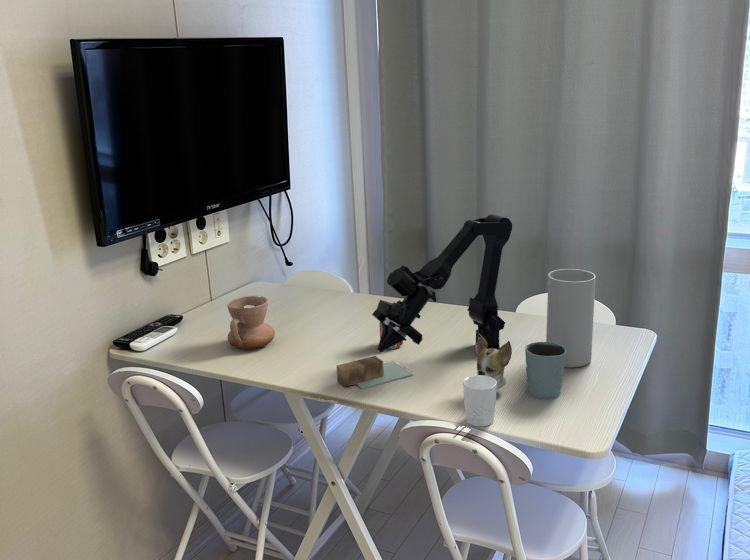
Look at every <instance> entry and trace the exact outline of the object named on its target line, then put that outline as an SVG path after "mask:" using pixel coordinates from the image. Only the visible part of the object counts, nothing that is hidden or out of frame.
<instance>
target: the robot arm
mask: <svg viewBox="0 0 750 560" xmlns="http://www.w3.org/2000/svg"><path fill="white" fill-rule="evenodd" d="M512 231H513V222H512V221H511V220H510V219H509V218H508V217H504V216H501V215H498V214H494V213H492V214H491V213H490V214H488V215H487V216H486V217H477V218H475V219H468V220H466V221H465V222H464V223H463V226H462V228H461V229H460V230H459V231H458V233H456V235H455V236H454V237H453V238H452V240H451V241H450V242H449V243H448V245H447V246H446V247H445V248H444V249H443V250H442V252H440V254H439V255H437V256H436V257H435V258H433V259H431V260H429V261H428V262H426V264H425V265H424V266H423V267H421V268H420V270H416V271H413V272H412V271H411V270H410V268H409V267H408V266H406V265H404V264H402V265H401V266H400V267H399V268H396V269H395V270H393V271H392V272H390V274H388V277H387V279H386V283H387V285H388V286H389V287H391V288H392V289H393V290H394V291H395V292H396V293H397V294H399V295H400V296H401V297H404V298H403V300H402V301H401V300H398V301H396V302H395V301H394V302H389V301H386V300H383V299H379V301H378V303H377V308H376V309H375V310H374V312H373V313H372V314H371V316H373V317H374V318H375V319H376V320H378V321H380V322H381V324H382V328H383V332H382V336H381V339H380V338H379V342H378V345H377V348H376V350H377V351H378V352H379V353H382V352H384V351H386V350H388V348H389V347H391V346H393V345H395V344H397V343H399V342H401V341H403V342H404V341H405V342H406V341H407V339H406V337H408V338H410V339H411V340H412V342H413V343H414V344H416V345H418V346H419V345H420V344H421V342H422V341H423V334H422V333H421V332H419V331H418V330H417V329H416V328H415V327H414V326H413V325H412V324H413V323H414V321H415V320H416V319H418V320H419V319H420V318H421V314H420V313H421V311H422V310H423V309H424V307H425V306H426V305H427V303H428V302H429V301H432V302H434V303H436V302H437V297H436V294H437V293H436V292H435V291H434V290H441V289H443V288H444V287H445V285H446V284H447V282H448V281H449V280H450V277H451V275H452V270H453V268H454V266H455V264H456V263H457V262H458V261H459V260H460V258H461V257H462V256H463V255H464V253H465V252H466V251H467V250H468V249H469V248H470V246H471V245H472V244H473V243H474V241H475V240H477V238H478V237H479V236H482V237H483V242H484V244H485V246H484V252H483V254H484V255H483V258H482V259H483V260H482V266H481V272H480V280H479V283H478V291H477V293H476V294H475V296H474V297H469V304H468V307H467V311H468V315H469V318H470V319H471V320H472V322H473V325H475V326H476V325H477V329H475V343H476V342H477V339H478V335H477V334H478V333H479V334H480V335H481V336H482V337H483V338H484V339H485V340H486V342H487V344H488V347H487V349H490V348H493V349H497V350H499V349H500V348H501V347H500V332H501V330H504V328H505V325H506V322H505V321H504V320H503V319H502V318H501V317H500V316H499V306H498V303H497V302H498V301H497V298H496V290H497V283H498V277H499V272H500V265H501V260H502V254H503V249H504V246H505V245H506V244H507V243H508V242H509V240H510V238H511V233H512ZM419 284H420V285H419ZM427 287H428V288H430V289H431V290H429V289H428V288H427ZM380 322H379V323H380ZM400 325H401V326H400Z"/></svg>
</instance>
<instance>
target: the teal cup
mask: <svg viewBox="0 0 750 560" xmlns="http://www.w3.org/2000/svg"><path fill="white" fill-rule="evenodd" d="M524 350H525V353H524V354H525V355H524V356H525V364H526V365H525V366H526V367H525V373H526V375H525V376H526V392H527V394H528V395H529V396H530V397H532V398H535V399H538V400H553V399H556V398H558V397H559V396H560V395H561V392H562V385H563V384H562V380H563V377H564V368H565V367H564V364H565V357H566V349H565V347H563V346H561V345H559V344H556V343H551V342H546V341H536V342H531V343H528V344H527V345H526V346H525V348H524Z"/></svg>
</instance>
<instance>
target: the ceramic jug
mask: <svg viewBox="0 0 750 560" xmlns="http://www.w3.org/2000/svg"><path fill="white" fill-rule="evenodd" d="M245 306H251V307H245ZM268 306H269V301H268V298H267V297H265V296H262V295H260V296H259V295H245V296H241V297H236V298H234V299H232V300H230V301H229V302H227V305H226V307H227V310H228V312H229V314H230V317H231V321H230V322H229V329H230V330H229V332H228V333H227V334H228V335H227V341H228V343H229V345H231V346H232V347H235V348H236V349H240V350H241V349H242V350H243V349H244V350H253V349H255V350H256V349H260V348H263V347H265V346H267V345H268V344H270V343H271V342H272V341H273V340H274V338H275V334H276V333H275V329H274V328H273V326H272V325H270V324H269V323H266V322H265V318H266V315H267V313H268V308H269V307H268Z"/></svg>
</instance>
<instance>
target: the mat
mask: <svg viewBox="0 0 750 560" xmlns="http://www.w3.org/2000/svg"><path fill="white" fill-rule="evenodd" d="M383 366H384V376H383V377H379V378H376V379H372V380H368V381H364V382H361V383H357V384H355V385H356V386H357V387H358V388H360V389H361V390H366V389H368V388H372V387H375V386H379V385H382V384H383V385H384V384H386V383H387V384H388V383H391V382H394V381H397V380H401V379H406V378H409V377H413V376H414V373H413V372H411V371H409V370H408V369H407V368H405V367H403V366H402V365H401V364H399V363H397V362H396V361H394V360H391V361H387V362H383Z"/></svg>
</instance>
